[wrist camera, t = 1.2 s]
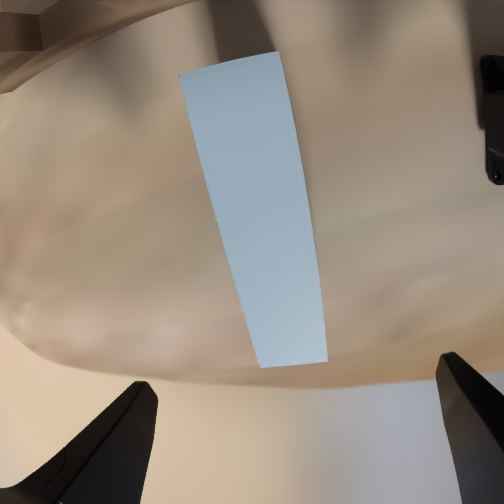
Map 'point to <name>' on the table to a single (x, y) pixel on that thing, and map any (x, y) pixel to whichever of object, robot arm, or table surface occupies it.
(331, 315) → the table surface
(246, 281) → the notched blue slab
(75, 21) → the notched wooden post
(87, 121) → the table surface
